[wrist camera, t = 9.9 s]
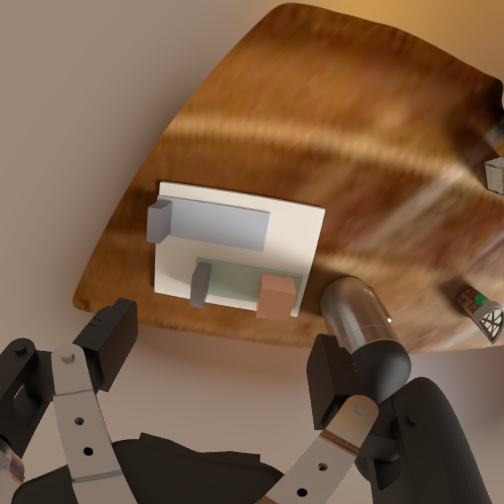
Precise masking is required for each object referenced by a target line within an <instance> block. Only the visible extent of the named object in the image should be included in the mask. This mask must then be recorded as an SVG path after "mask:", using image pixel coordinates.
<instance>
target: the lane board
mask: <svg viewBox="0 0 504 504" xmlns="http://www.w3.org/2000/svg"><path fill="white" fill-rule="evenodd" d="M159 195H160V196H168V197H175V198H182V199H189V200H196V201H202V202H209V203H215V204H221V205H228V206H234V207H240V208H246V209H252V210H257V211H263V212H269V213H270V217H269V223H268V228H267V233H266V238H265V243H264V248H263V252H261V251H255V250H249V249H244V248H238V247H232V246H226V245H220V244H214V243H208V242H202V241H196V240H191V239H185V238H179V237H173V236H167V237H166V238H165V239H164V240H163V241H162V242H161V243H160V244H156V255H155V292H158V293H163V294H167V295H172V296H177V297H182V298H187V299H190V292H191V279H192V275H193V273H194V271H195V265H196V258H197V257H199V258H204V259H210V260H216V261H222V262H227V263H233V264H239V265H245V266H251V267H257V268H263V269H269V270H275V271H281V272H287V273H293V274H299V275H303V279H302V283H301V287H300V290H299V294H298V298H297V301H296V305H295V308H292V311H291V315H290V316H296V317H297V315H298V311H299V308H300V304H301V301H302V298H303V294H304V290H305V287H306V283H307V280H308V276H309V272H310V269H311V265H312V261H313V257H314V254H315V250H316V246H317V242H318V238H319V234H320V230H321V226H322V222H323V217H324V213H325V209H324V208H322V207H317V206H312V205H307V204H302V203H297V202H292V201H286V200H281V199H276V198H270V197H264V196H259V195H253V194H247V193H241V192H235V191H229V190H222V189H216V188H209V187H202V186H195V185H188V184H181V183H173V182H165V181H162V182H160V191H159ZM205 302H209V303H214V304H220V305H225V306H231V307H237V308H243V309H249V310H255V311H256V303H255V302H249V301H243V300H237V299H231V298H225V297H220V296H214V295H209V294H207V297H206V300H205Z"/></svg>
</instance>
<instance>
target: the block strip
mask: <svg viewBox="0 0 504 504" xmlns="http://www.w3.org/2000/svg"><path fill="white" fill-rule="evenodd" d="M262 273H265V274H271V275H277V276H284V277H290V278H293V279H294V284H295V289H296V297H295V300H294V304H293V308H295V305H296V301H297V298H298V294H299V290H300V287H301V283H302V279H303V275H299V274H293V273H287V272H281V271H275V270H269V269H263V268H257V267H251V266H245V265H239V264H233V263H227V262H222V261H216V260H210V259H204V258H199V257H197V258H196V265H195V271H194V273H193V275H192V279H191V292H190V306H194V307H200V308H203V305H204V302H205V300H206V297H207V294H209V295H214V296H220V297H225V298H231V299H237V300H243V301H249V302H255V303H256V301H257V295H258V290H259V286H260V281H261V276H262Z"/></svg>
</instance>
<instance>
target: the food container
mask: <svg viewBox="0 0 504 504" xmlns="http://www.w3.org/2000/svg"><path fill="white" fill-rule="evenodd" d="M456 299H457V300H458V301H459V303H460V304H461V305H462V307H463V308H464V310H465V311H466V313H467V314H468V315H469V317H470V318H471V319H472V320H473V322H474V323H475V324H476V325H477V326H478V327H479V328H480V330H481V331H482V332H483V333H484V334H485V335H486V337H487V338H488V339H489V341H490V342H491V343H492V344H494V343H495V342H496V341H497V340H498V338H499V337H500V335H501V333H502V331H503V329H504V310H503V308H502V306H501V305H500V303H498V302H496V301H491V300H489V299H488V298H487V297H485V296H484V295H483V294H481V293H480V292H479V291H477V290H476V289H474V288H469V289H466V290H464V291H462V292H461V293H460V294H458V295H457V296H456Z"/></svg>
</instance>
